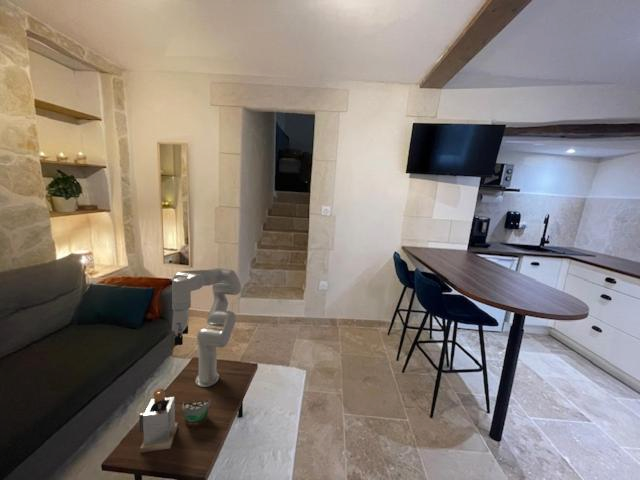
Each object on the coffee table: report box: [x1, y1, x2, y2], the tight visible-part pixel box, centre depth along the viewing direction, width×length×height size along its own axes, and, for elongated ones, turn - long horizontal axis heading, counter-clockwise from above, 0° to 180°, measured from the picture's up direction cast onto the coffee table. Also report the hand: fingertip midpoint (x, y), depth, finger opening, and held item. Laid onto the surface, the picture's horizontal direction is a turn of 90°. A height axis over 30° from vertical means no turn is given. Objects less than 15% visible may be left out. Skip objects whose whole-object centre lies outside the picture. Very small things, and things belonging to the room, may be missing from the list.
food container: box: [181, 398, 211, 429], centre depth 121 cm, size 12×6×10 cm, turn 105°
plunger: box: [153, 388, 166, 411], centre depth 111 cm, size 5×5×20 cm
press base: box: [139, 421, 179, 454], centre depth 113 cm, size 11×11×2 cm
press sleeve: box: [139, 396, 176, 446], centre depth 111 cm, size 9×12×14 cm
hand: (181, 339), depth 122 cm, fingers open, 9 cm apart
